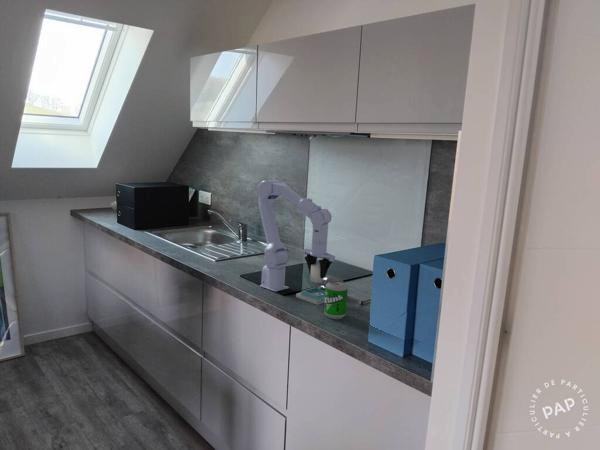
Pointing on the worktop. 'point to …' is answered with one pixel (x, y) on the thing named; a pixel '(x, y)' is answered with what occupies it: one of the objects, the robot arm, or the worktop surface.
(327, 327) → the worktop surface
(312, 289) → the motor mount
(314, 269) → the grey rounded piece
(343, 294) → the soda can
